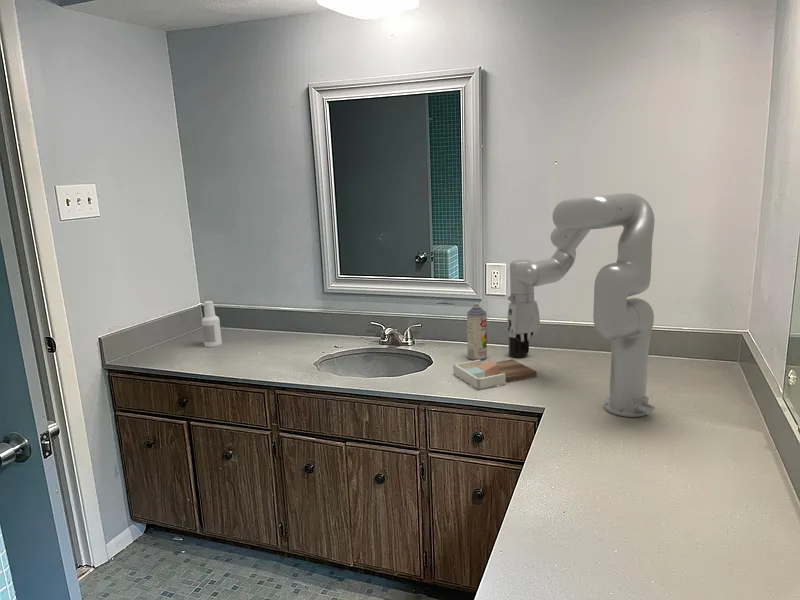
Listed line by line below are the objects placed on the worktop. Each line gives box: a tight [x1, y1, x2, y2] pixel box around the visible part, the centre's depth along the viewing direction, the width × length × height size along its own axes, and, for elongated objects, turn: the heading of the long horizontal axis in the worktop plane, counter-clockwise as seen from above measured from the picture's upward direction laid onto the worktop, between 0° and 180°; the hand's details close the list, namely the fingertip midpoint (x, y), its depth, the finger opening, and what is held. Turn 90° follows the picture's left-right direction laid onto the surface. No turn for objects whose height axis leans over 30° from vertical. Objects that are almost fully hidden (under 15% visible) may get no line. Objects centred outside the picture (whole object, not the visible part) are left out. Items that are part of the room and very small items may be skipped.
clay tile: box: [477, 359, 500, 377], centre depth 200 cm, size 5×5×3 cm
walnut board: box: [494, 358, 537, 383], centre depth 204 cm, size 14×12×2 cm
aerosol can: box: [466, 302, 488, 361], centre depth 218 cm, size 7×7×20 cm
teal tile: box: [465, 367, 486, 378], centre depth 198 cm, size 5×5×3 cm
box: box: [452, 360, 506, 391], centre depth 199 cm, size 16×10×4 cm, turn 23°
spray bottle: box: [201, 300, 223, 348], centre depth 247 cm, size 7×7×18 cm
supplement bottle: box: [507, 332, 529, 359], centre depth 220 cm, size 7×7×12 cm
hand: (523, 352), depth 203 cm, fingers closed
